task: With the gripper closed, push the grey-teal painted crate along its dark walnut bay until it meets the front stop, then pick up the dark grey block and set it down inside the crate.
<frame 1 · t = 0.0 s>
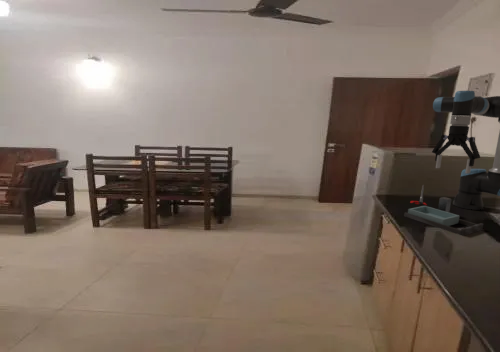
hand: (452, 170, 148), 28 cm above the worktop, tool pointing down, fingers open, 13 cm apart
bay: (440, 224, 156), on the worktop
tow hook: (418, 204, 191), on the worktop
dark grey block: (442, 215, 169), on the worktop
crate: (432, 215, 159), point 3 cm above the worktop, slide at 0.0 cm
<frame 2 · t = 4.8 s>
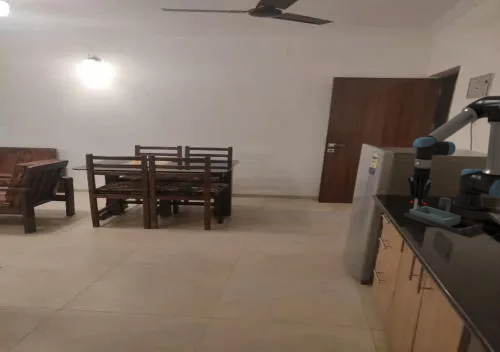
hand: (416, 210, 167), 3 cm above the worktop, tool pointing down, fingers closed
crate: (434, 216, 158), point 3 cm above the worktop, slide at 0.7 cm, touching gripper
everything else where it was.
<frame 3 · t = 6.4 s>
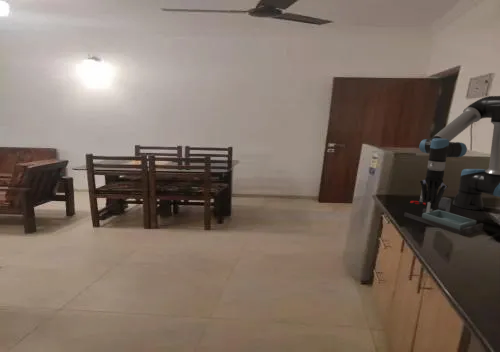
hand: (428, 214, 161), 3 cm above the worktop, tool pointing down, fingers closed
crate: (448, 220, 152), point 3 cm above the worktop, slide at 7.6 cm, touching gripper
everything else where it was.
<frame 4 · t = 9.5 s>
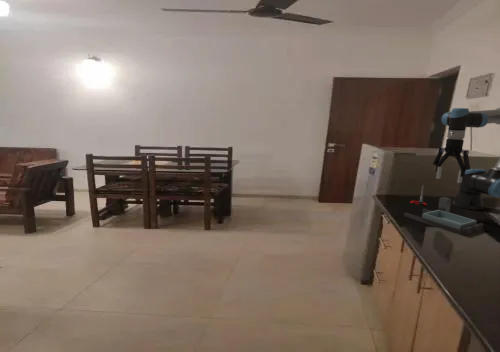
hand: (448, 180, 165), 20 cm above the worktop, tool pointing down, fingers open, 10 cm apart
crate: (448, 220, 152), point 3 cm above the worktop, slide at 7.7 cm
everything else where it was.
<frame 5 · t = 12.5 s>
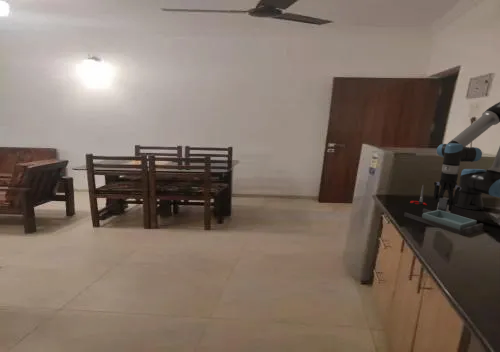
hand: (442, 214, 169), 1 cm above the worktop, tool pointing down, fingers closed on dark grey block, 4 cm apart
dark grey block: (442, 215, 169), on the worktop, touching gripper
everything else where it was.
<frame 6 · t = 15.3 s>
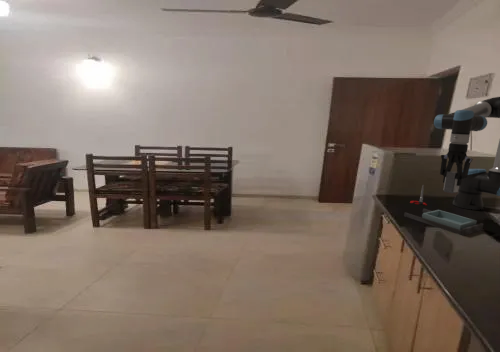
hand: (450, 190, 152), 17 cm above the worktop, tool pointing down, fingers closed on dark grey block, 4 cm apart
dark grey block: (450, 192, 153), point 17 cm above the worktop, touching gripper
everything else where it was.
when the fingers open (5 cm above the worktop, at t = 18.1 s): dark grey block drops 2 cm, resting on crate.
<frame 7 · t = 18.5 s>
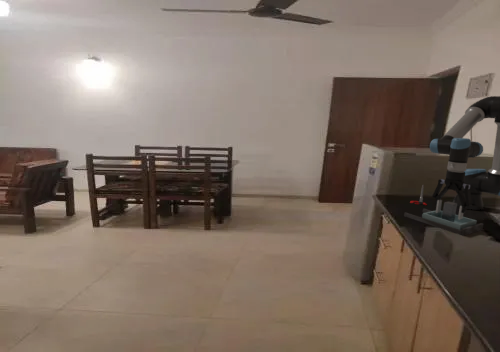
hand: (448, 215, 152), 6 cm above the worktop, tool pointing down, fingers open, 10 cm apart
dark grey block: (447, 222, 153), point 2 cm above the worktop, touching crate
crate: (448, 220, 152), point 3 cm above the worktop, slide at 7.7 cm, touching dark grey block
everything else where it was.
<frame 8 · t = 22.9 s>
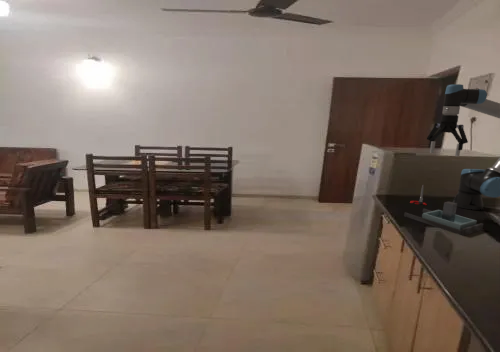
hand: (444, 154, 169), 33 cm above the worktop, tool pointing down, fingers open, 13 cm apart
nothing on the worktop moved.
at the end: crate slide at 7.7 cm; dark grey block inside the target area on the crate (0.2 cm from its centre), point 1.0 cm above the crate's base; the gripper is holding nothing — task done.
